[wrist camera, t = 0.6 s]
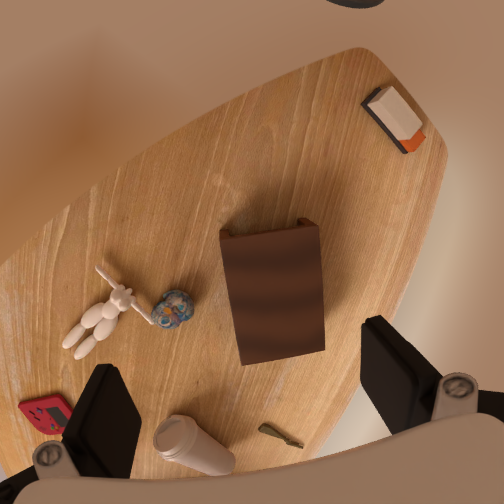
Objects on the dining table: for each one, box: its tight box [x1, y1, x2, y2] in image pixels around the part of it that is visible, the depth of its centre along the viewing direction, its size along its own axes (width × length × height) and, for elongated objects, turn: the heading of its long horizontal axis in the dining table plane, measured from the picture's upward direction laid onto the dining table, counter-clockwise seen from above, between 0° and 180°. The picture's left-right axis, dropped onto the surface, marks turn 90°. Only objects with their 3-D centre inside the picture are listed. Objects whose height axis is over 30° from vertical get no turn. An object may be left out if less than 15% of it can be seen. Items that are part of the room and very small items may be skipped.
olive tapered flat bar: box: [258, 423, 303, 449], centre depth 54 cm, size 12×2×1 cm, turn 47°
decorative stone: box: [151, 290, 194, 329], centre depth 43 cm, size 6×4×5 cm
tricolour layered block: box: [361, 86, 426, 154], centre depth 39 cm, size 10×4×5 cm, turn 48°
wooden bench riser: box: [219, 218, 325, 366], centre depth 43 cm, size 18×12×6 cm, turn 8°
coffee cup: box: [153, 415, 236, 476], centre depth 48 cm, size 10×10×15 cm
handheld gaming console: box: [18, 394, 73, 435], centre depth 48 cm, size 10×1×15 cm
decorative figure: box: [62, 265, 155, 359], centre depth 43 cm, size 4×12×18 cm
